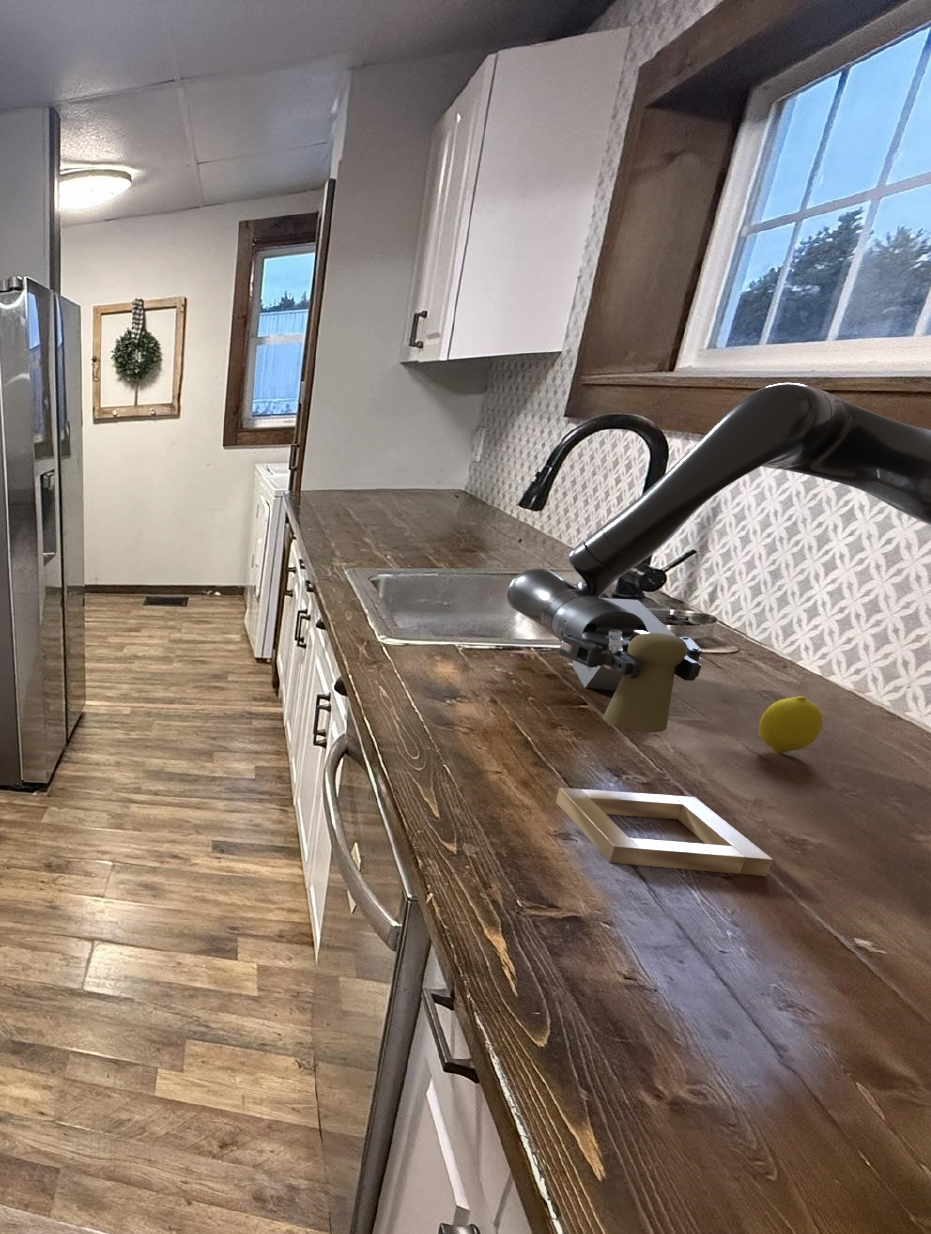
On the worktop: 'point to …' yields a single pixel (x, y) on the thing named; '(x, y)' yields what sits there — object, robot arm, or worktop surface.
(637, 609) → the grey slotted holder
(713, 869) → the wooden frame
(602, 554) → the robot arm
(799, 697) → the lemon
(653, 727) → the cork
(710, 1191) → the worktop surface
